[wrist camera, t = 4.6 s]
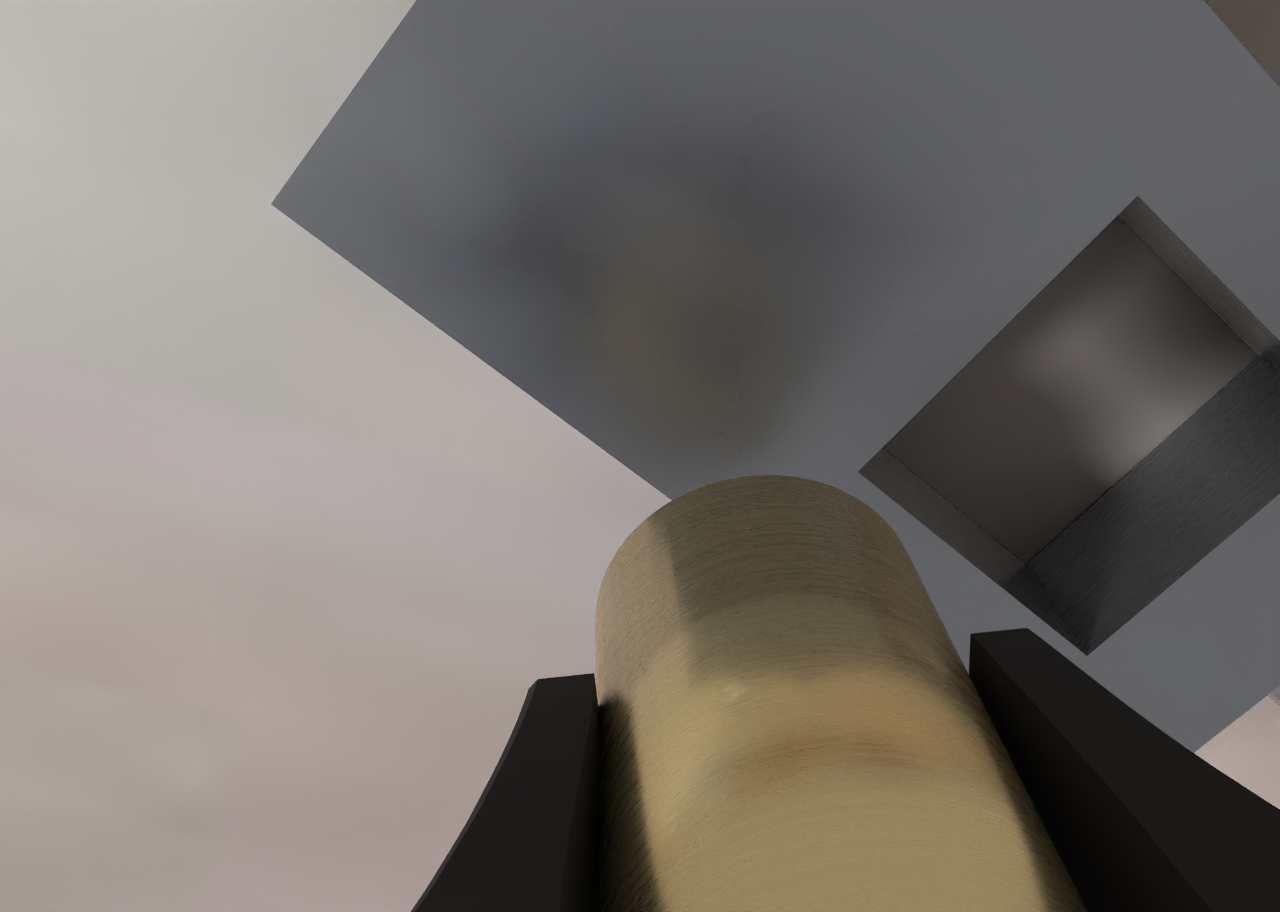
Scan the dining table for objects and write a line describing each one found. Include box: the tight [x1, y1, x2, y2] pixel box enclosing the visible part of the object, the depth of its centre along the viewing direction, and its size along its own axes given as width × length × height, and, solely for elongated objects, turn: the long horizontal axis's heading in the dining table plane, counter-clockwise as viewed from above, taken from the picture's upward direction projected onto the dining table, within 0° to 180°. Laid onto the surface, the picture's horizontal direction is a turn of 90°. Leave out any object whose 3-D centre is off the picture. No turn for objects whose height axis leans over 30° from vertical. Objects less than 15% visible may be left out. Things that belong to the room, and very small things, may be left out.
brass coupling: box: [595, 475, 1087, 912], centre depth 11 cm, size 4×4×7 cm
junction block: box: [271, 0, 1280, 753], centre depth 18 cm, size 30×10×3 cm, turn 50°
